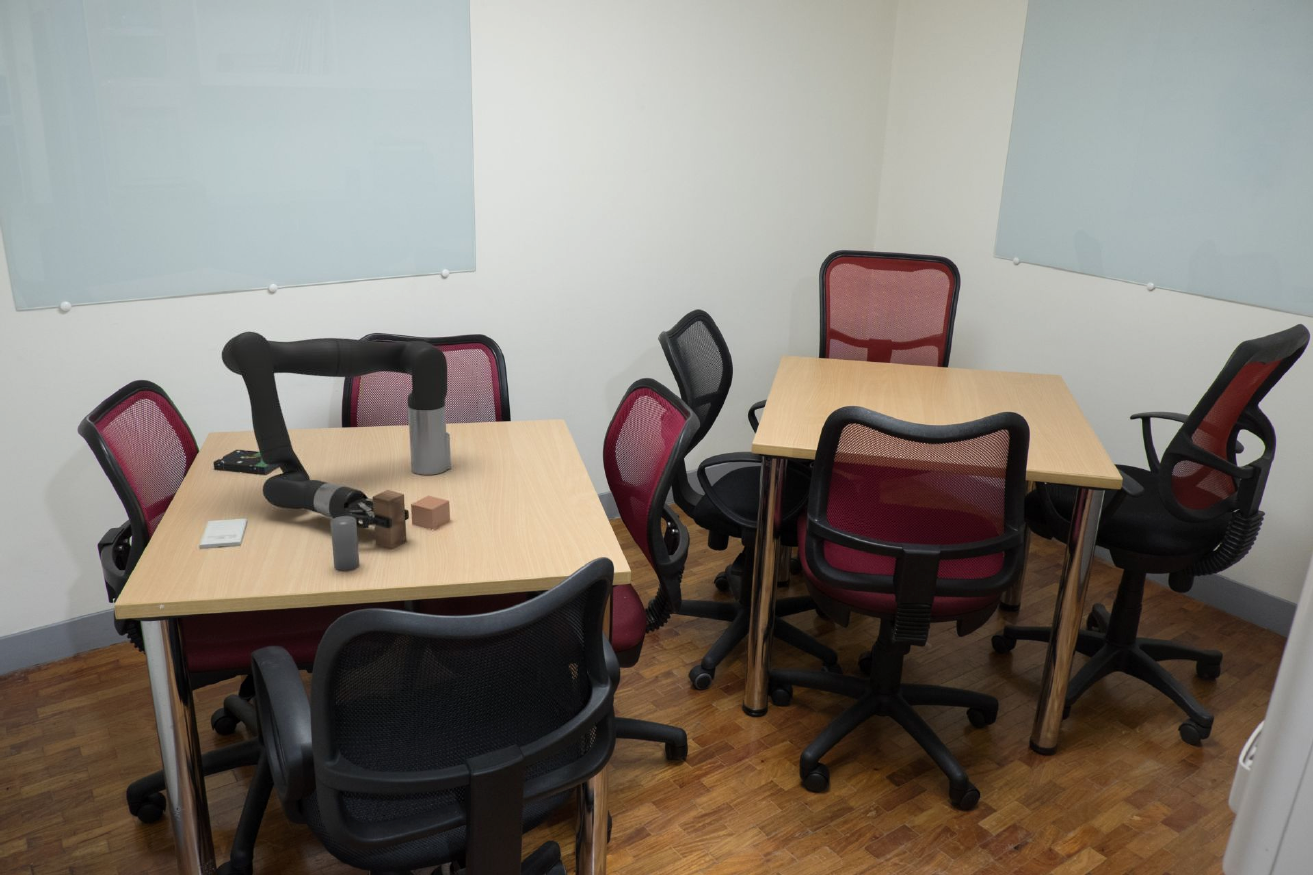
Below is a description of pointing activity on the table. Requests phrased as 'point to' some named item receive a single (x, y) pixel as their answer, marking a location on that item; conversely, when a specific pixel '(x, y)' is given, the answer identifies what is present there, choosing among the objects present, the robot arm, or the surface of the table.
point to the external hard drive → (223, 533)
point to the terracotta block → (430, 512)
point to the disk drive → (244, 463)
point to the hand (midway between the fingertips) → (399, 519)
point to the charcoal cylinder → (345, 543)
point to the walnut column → (392, 508)
